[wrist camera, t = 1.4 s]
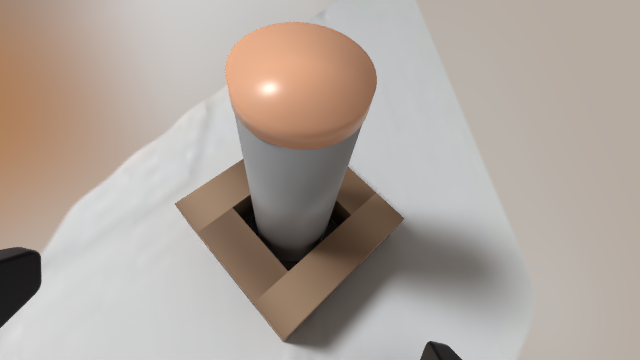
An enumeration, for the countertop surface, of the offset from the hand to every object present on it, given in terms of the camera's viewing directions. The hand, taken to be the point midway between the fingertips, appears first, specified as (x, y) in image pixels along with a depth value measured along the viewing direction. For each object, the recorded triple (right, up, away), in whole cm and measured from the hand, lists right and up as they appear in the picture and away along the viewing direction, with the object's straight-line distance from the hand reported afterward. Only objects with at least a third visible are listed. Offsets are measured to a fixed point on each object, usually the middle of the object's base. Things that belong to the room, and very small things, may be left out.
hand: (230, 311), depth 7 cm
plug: (0, 0, +15) cm, 15 cm away
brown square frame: (0, 0, +15) cm, 15 cm away
